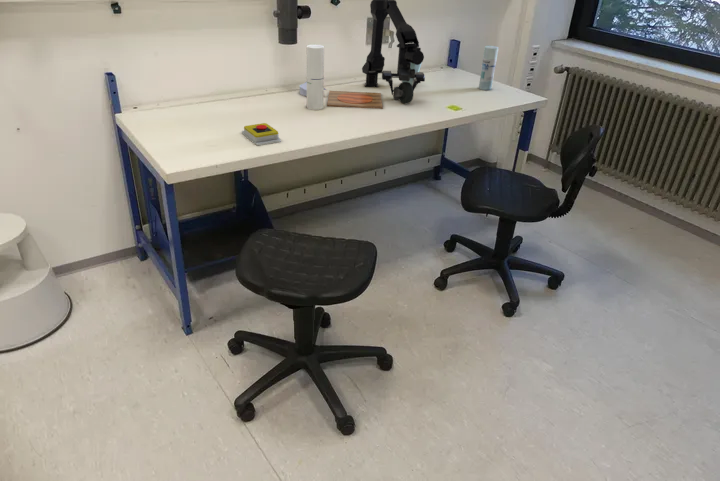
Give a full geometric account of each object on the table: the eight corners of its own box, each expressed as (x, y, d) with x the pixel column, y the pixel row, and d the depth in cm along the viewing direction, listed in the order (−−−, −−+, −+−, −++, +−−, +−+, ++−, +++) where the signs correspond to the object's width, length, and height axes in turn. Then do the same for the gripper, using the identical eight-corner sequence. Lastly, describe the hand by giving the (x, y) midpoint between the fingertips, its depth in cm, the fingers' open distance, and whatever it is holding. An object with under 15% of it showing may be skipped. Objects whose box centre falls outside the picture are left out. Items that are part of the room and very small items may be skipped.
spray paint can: (475, 87, 269) (482, 45, 259) (486, 86, 272) (493, 45, 262) (483, 90, 264) (490, 48, 254) (494, 89, 267) (501, 48, 257)
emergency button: (256, 133, 185) (240, 121, 196) (257, 145, 188) (240, 132, 198) (281, 130, 190) (263, 117, 200) (281, 141, 192) (264, 129, 203)
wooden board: (329, 92, 250) (329, 90, 249) (380, 94, 250) (380, 92, 250) (327, 106, 231) (327, 104, 230) (382, 108, 232) (382, 106, 231)
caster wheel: (414, 106, 239) (398, 94, 250) (417, 85, 233) (400, 74, 244) (403, 108, 237) (387, 95, 247) (406, 86, 231) (390, 75, 242)
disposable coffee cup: (395, 83, 269) (398, 52, 261) (415, 82, 272) (418, 52, 264) (403, 89, 260) (406, 57, 253) (423, 88, 263) (427, 56, 256)
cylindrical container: (320, 110, 226) (321, 48, 213) (304, 108, 227) (304, 47, 214) (325, 105, 232) (326, 45, 219) (309, 104, 233) (309, 43, 220)
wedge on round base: (326, 97, 243) (313, 89, 252) (327, 82, 239) (313, 75, 249) (309, 99, 239) (296, 91, 248) (308, 84, 235) (296, 77, 244)
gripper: (384, 62, 226) (381, 99, 234) (428, 64, 227) (424, 101, 235) (383, 57, 236) (380, 92, 244) (425, 59, 237) (421, 94, 245)
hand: (401, 95), depth 242 cm, fingers open, 8 cm apart
